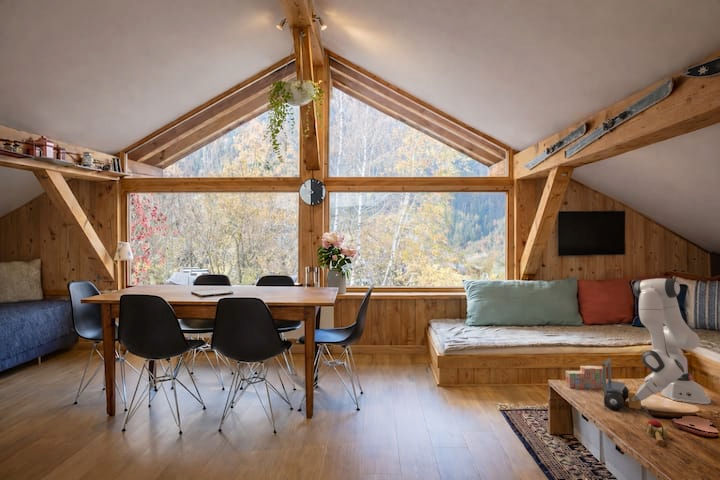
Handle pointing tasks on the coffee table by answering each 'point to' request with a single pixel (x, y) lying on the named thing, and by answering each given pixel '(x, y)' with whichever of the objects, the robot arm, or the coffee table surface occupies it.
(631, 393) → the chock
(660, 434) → the kendama
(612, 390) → the trolley
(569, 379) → the stack of blocks
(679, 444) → the coffee table surface
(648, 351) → the robot arm
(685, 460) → the coffee table surface
